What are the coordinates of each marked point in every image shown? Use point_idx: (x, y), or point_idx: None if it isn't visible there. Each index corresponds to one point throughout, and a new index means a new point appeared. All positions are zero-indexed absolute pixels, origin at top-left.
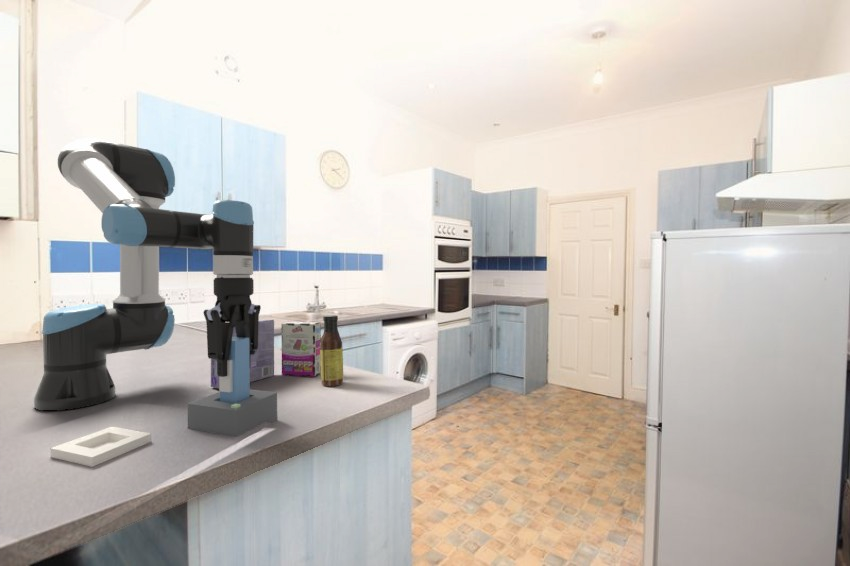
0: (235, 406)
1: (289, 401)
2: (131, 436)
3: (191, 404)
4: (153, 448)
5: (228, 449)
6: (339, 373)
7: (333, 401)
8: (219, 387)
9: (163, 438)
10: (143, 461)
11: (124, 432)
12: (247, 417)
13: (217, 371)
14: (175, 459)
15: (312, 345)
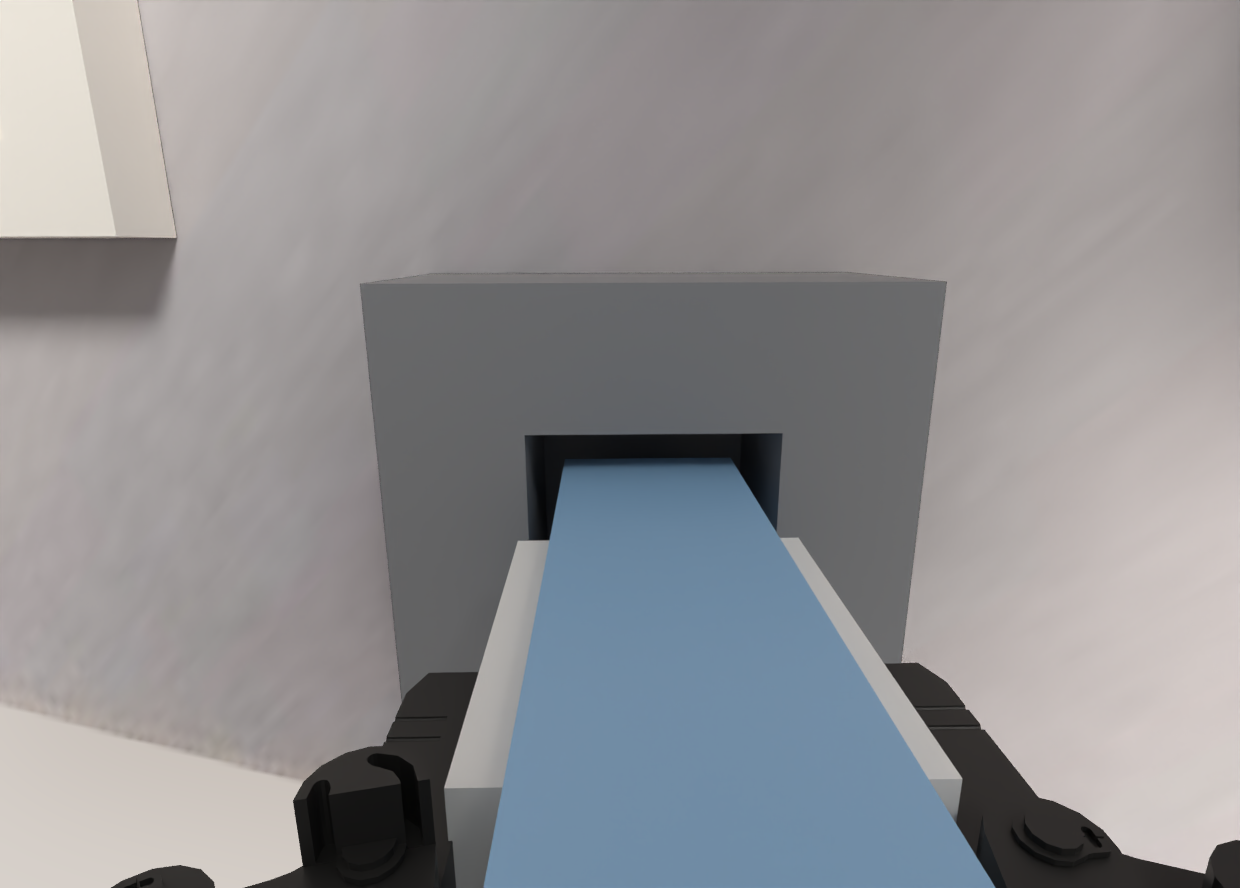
0: None
1: (1179, 495)
2: (8, 148)
3: (367, 331)
4: (173, 273)
5: (366, 676)
6: None
7: (1220, 764)
8: (513, 559)
9: (300, 188)
10: (45, 381)
11: (15, 8)
12: None
13: (398, 718)
14: (152, 521)
15: None
